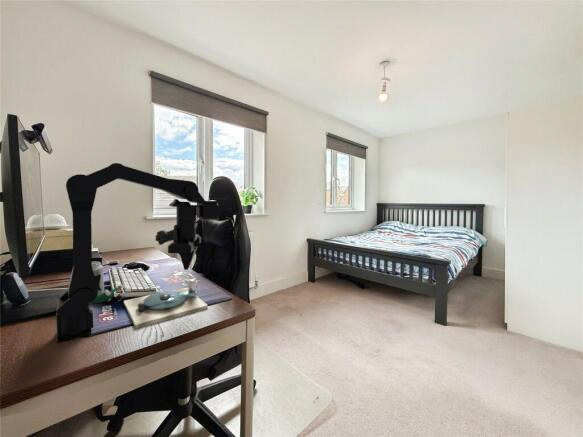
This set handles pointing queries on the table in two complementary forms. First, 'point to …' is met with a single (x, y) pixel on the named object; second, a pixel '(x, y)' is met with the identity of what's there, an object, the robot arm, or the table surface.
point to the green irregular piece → (107, 295)
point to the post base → (148, 317)
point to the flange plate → (169, 298)
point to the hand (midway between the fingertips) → (186, 269)
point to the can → (99, 267)
